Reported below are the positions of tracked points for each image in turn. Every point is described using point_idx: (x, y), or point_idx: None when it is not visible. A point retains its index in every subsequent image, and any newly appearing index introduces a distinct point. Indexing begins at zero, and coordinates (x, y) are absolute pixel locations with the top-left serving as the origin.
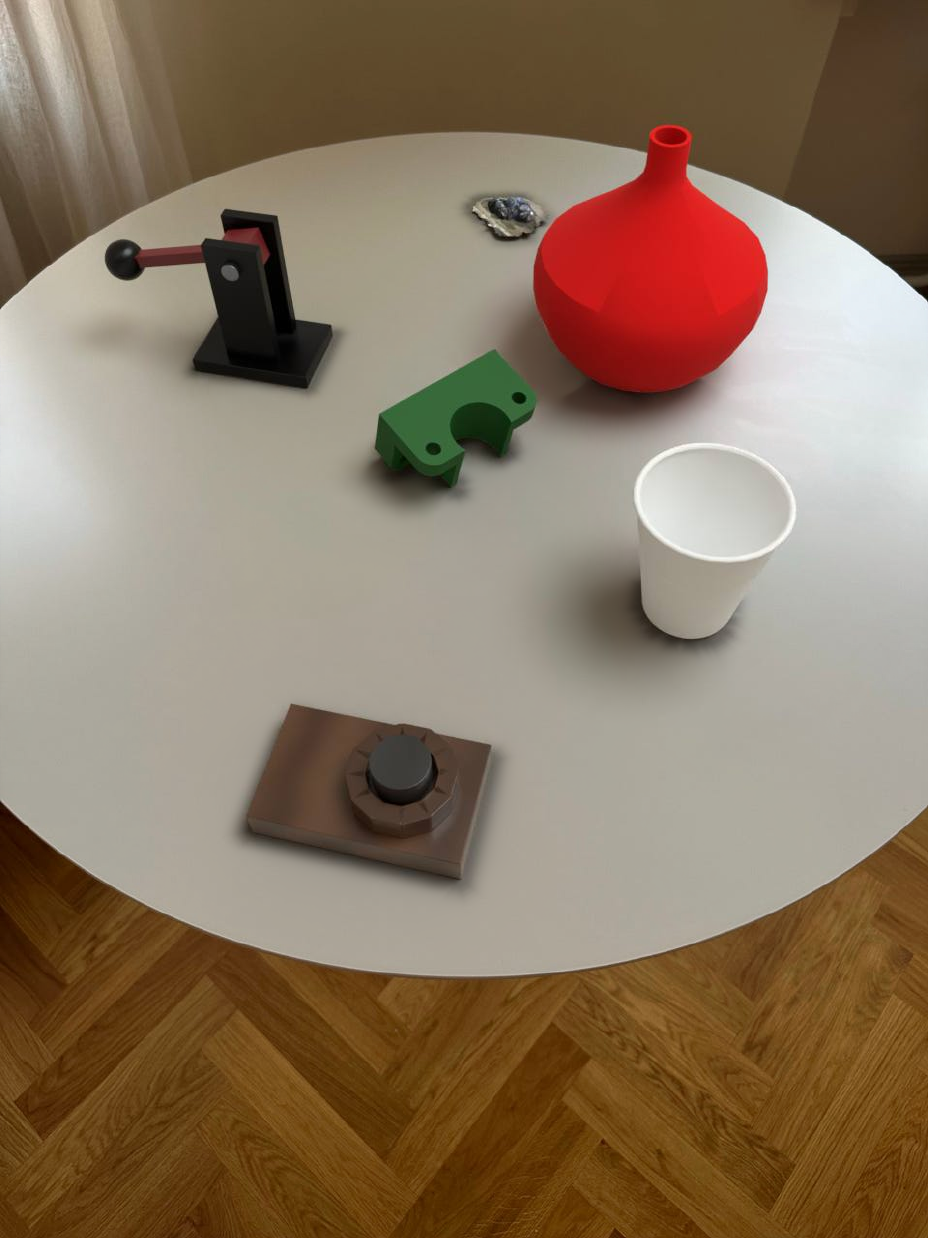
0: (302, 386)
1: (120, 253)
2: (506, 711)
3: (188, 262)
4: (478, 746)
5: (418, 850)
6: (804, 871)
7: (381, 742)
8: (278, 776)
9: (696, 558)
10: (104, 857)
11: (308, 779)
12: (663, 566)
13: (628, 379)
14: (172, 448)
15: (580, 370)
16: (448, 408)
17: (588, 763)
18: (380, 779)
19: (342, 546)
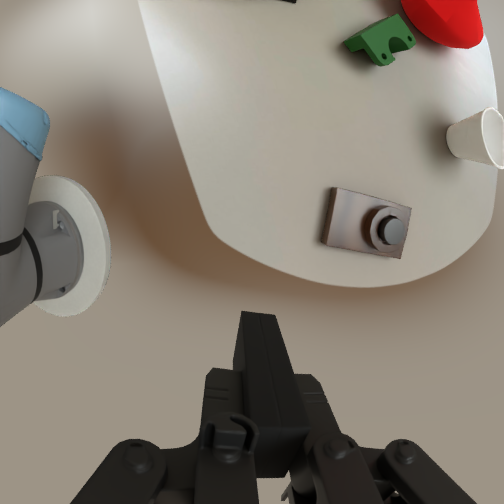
0: (293, 2)
1: None
2: (408, 183)
3: None
4: (407, 209)
5: (388, 254)
6: (470, 244)
7: (388, 223)
8: (337, 225)
9: (495, 165)
10: (261, 257)
11: (349, 226)
12: (478, 154)
13: (439, 41)
14: (234, 32)
15: (417, 26)
16: (386, 37)
17: (430, 207)
18: (388, 240)
19: (335, 90)
